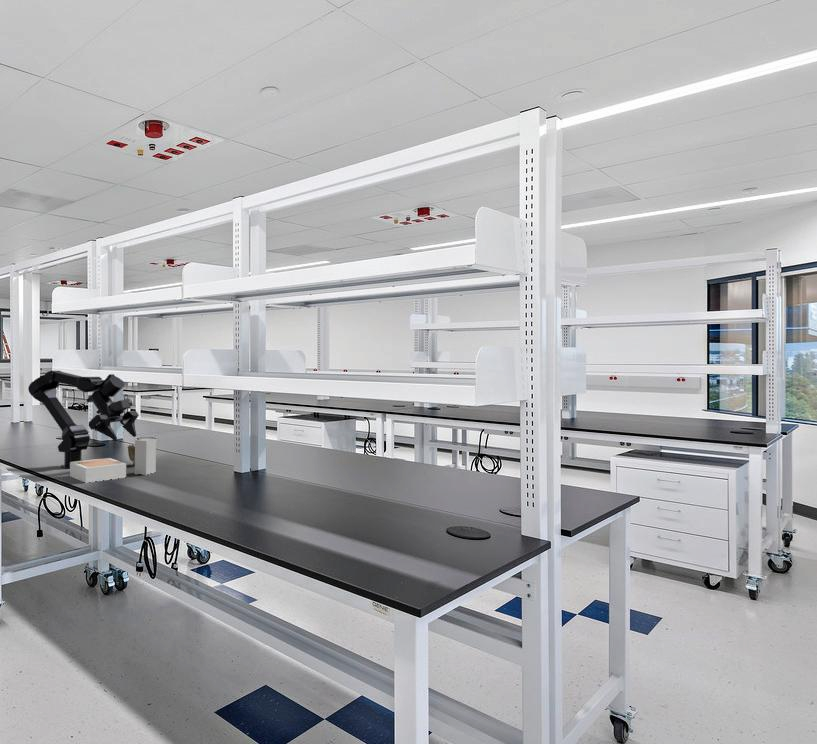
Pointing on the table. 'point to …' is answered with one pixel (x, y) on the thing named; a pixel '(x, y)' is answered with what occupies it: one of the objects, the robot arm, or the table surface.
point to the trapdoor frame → (97, 471)
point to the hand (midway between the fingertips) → (125, 437)
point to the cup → (131, 453)
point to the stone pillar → (145, 456)
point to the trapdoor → (97, 463)
